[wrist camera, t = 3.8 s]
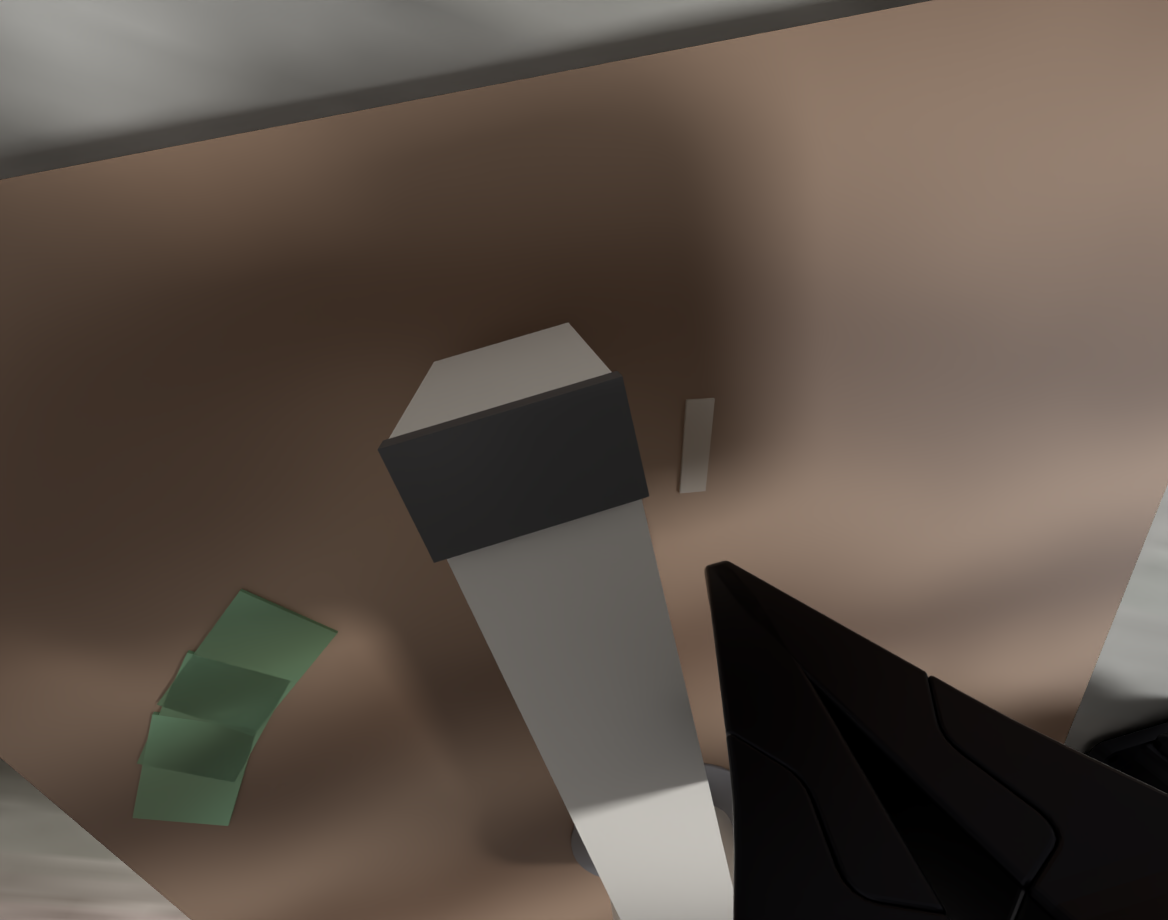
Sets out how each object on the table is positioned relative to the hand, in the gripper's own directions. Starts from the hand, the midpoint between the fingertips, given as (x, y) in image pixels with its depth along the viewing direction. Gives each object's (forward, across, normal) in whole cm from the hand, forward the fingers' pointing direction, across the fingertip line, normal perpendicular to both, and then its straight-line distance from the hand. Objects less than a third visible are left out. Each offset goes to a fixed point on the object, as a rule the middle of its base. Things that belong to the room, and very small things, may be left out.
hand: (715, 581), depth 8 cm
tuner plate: (+3, +1, +3) cm, 4 cm away
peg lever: (+1, +2, +3) cm, 4 cm away
